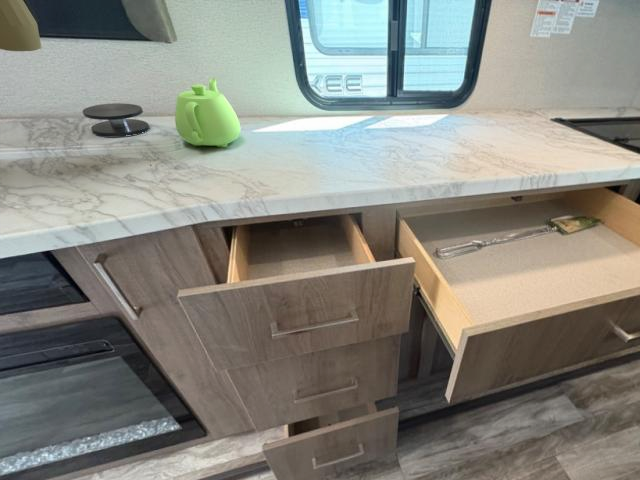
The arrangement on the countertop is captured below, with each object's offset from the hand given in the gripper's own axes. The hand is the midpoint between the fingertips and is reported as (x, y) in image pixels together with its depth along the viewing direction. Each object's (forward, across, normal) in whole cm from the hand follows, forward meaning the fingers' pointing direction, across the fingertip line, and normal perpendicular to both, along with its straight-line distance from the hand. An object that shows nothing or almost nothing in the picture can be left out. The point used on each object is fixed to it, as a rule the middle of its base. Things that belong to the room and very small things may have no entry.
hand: (5, 22), depth 57 cm
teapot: (+25, +26, -15) cm, 39 cm away
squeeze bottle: (+4, 0, 0) cm, 4 cm away
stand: (+25, +24, +11) cm, 36 cm away
